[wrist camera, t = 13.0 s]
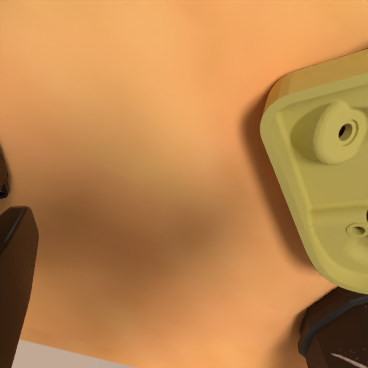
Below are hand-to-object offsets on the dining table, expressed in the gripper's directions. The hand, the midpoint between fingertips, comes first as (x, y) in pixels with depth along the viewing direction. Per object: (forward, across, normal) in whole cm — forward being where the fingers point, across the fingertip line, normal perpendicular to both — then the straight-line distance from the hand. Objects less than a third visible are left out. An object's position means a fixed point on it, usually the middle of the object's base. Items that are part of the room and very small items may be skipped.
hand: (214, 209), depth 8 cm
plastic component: (+14, -14, +8) cm, 21 cm away
